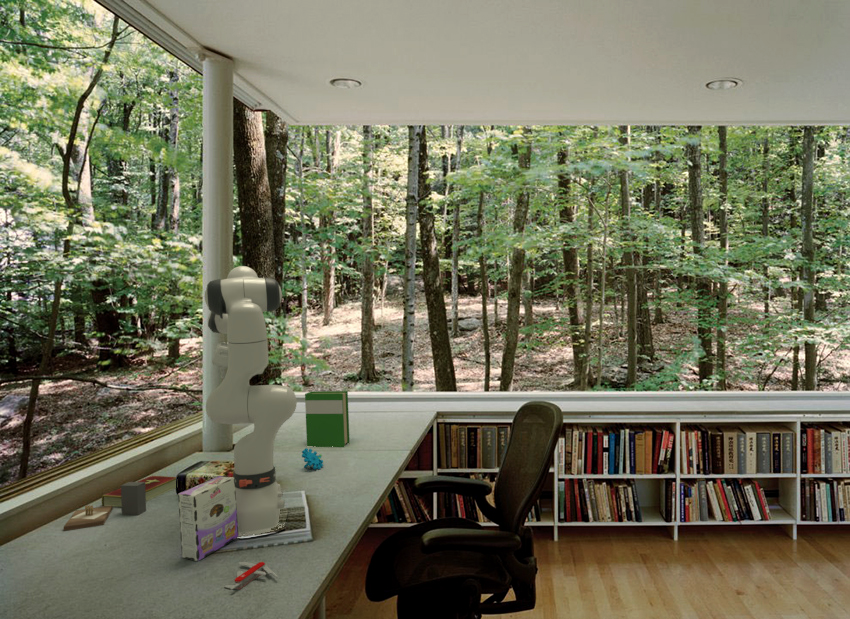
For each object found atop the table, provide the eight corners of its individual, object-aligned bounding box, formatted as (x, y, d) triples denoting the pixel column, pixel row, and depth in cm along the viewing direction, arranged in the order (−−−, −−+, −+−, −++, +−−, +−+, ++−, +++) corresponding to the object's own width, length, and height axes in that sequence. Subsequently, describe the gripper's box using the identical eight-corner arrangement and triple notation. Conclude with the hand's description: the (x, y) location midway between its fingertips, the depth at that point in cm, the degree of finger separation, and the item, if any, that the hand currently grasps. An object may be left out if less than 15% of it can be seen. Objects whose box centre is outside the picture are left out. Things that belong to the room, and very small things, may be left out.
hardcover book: (101, 507, 174) (101, 494, 174) (151, 486, 194) (151, 474, 194) (131, 509, 171) (131, 496, 171) (179, 488, 191) (178, 476, 191)
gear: (313, 468, 201) (299, 448, 205) (304, 479, 202) (289, 458, 206) (330, 464, 211) (316, 445, 215) (321, 474, 212) (307, 455, 216)
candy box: (223, 534, 146) (219, 474, 145) (239, 537, 143) (235, 476, 143) (180, 558, 133) (176, 492, 133) (197, 561, 131) (193, 495, 130)
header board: (103, 524, 157) (103, 510, 157) (63, 530, 154) (63, 516, 154) (112, 508, 170) (112, 496, 171) (76, 514, 167) (75, 501, 167)
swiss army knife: (255, 599, 113) (255, 590, 113) (205, 589, 118) (204, 580, 118) (288, 574, 123) (288, 565, 123) (240, 565, 128) (240, 557, 128)
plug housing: (146, 510, 168) (145, 482, 168) (138, 515, 164) (137, 485, 164) (130, 510, 169) (129, 481, 169) (121, 514, 165) (120, 485, 165)
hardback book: (349, 443, 246) (347, 391, 246) (344, 447, 239) (342, 393, 239) (313, 442, 249) (311, 391, 249) (307, 446, 242) (305, 393, 242)
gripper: (213, 340, 205) (205, 375, 203) (263, 350, 201) (254, 386, 200) (222, 341, 211) (213, 375, 210) (270, 351, 208) (262, 386, 206)
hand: (234, 381), depth 205 cm, fingers open, 8 cm apart
